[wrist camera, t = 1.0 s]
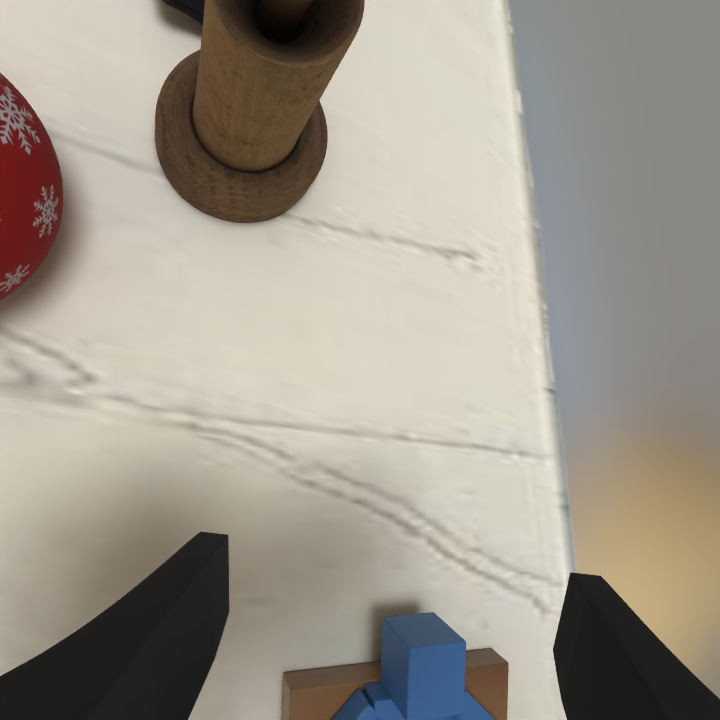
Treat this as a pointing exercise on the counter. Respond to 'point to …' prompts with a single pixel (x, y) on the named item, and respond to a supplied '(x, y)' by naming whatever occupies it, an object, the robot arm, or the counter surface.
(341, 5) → the mortar and pestle
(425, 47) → the counter surface
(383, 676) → the ring
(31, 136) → the christmas ornament
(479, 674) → the platform
